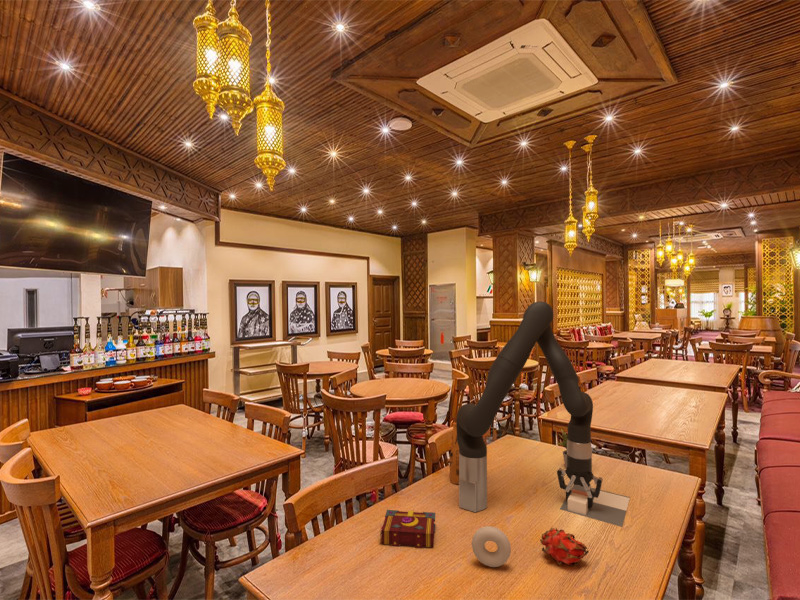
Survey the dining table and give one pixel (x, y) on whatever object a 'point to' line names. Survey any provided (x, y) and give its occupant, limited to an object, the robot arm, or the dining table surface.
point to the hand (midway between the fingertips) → (579, 504)
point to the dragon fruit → (563, 547)
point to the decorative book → (408, 528)
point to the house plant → (564, 446)
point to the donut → (486, 556)
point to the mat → (604, 507)
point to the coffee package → (454, 457)
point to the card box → (578, 502)
